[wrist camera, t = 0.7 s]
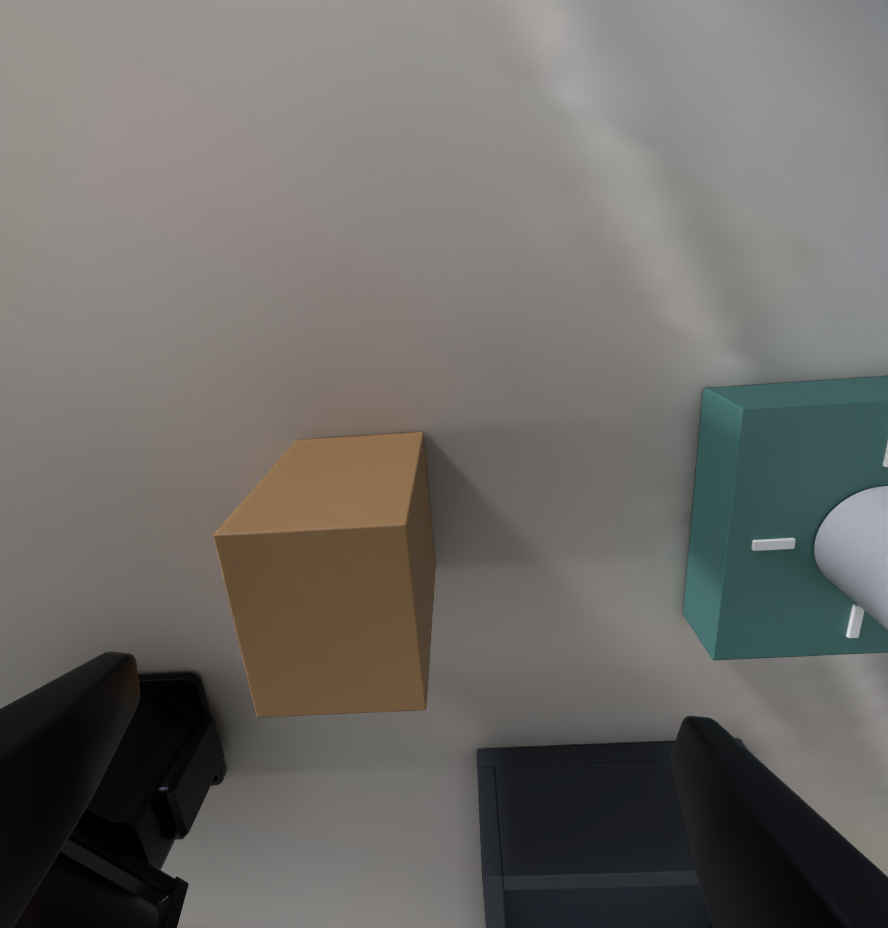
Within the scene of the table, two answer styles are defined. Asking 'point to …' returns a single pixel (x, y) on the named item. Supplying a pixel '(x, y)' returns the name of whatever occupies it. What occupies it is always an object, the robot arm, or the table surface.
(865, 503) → the white dial knob
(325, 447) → the carton
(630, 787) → the basin
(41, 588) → the table surface
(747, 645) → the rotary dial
